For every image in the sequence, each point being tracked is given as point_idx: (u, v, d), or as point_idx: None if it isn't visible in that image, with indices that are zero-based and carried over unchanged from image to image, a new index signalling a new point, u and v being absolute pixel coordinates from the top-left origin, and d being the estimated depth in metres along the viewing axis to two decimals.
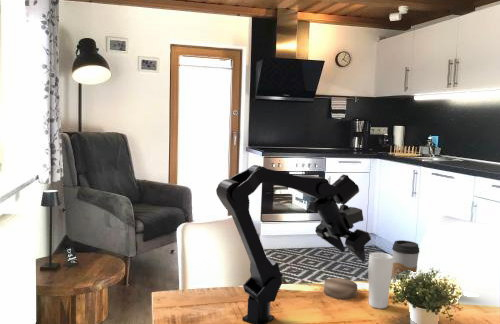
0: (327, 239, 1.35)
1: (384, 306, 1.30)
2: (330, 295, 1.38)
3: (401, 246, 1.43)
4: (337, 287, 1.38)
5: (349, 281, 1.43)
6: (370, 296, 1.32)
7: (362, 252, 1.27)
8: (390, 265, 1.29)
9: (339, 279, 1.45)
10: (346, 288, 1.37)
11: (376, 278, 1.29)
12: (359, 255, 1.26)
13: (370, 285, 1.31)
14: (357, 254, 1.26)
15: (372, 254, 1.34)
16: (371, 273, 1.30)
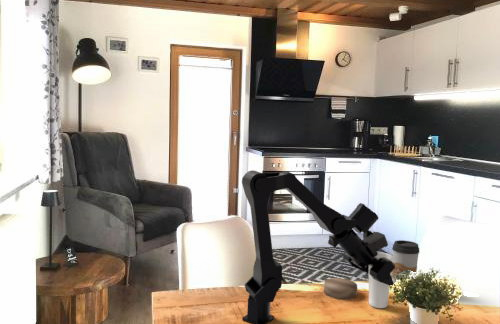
0: (356, 266, 1.34)
1: (384, 306, 1.30)
2: (330, 295, 1.38)
3: (401, 246, 1.43)
4: (337, 287, 1.38)
5: (349, 281, 1.43)
6: (370, 296, 1.32)
7: (388, 278, 1.26)
8: None
9: (339, 279, 1.45)
10: (346, 288, 1.37)
11: None
12: (386, 281, 1.26)
13: (370, 285, 1.31)
14: (383, 281, 1.26)
15: None
16: None
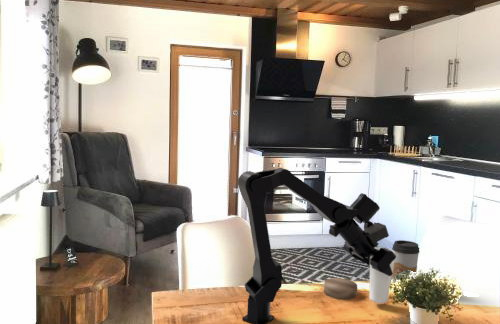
0: (358, 258, 1.33)
1: (385, 301, 1.30)
2: (330, 295, 1.38)
3: (401, 246, 1.43)
4: (337, 287, 1.38)
5: (349, 281, 1.43)
6: (371, 291, 1.31)
7: (387, 268, 1.27)
8: None
9: (339, 279, 1.45)
10: (346, 288, 1.37)
11: (377, 273, 1.29)
12: (385, 271, 1.27)
13: (371, 280, 1.31)
14: None
15: None
16: None
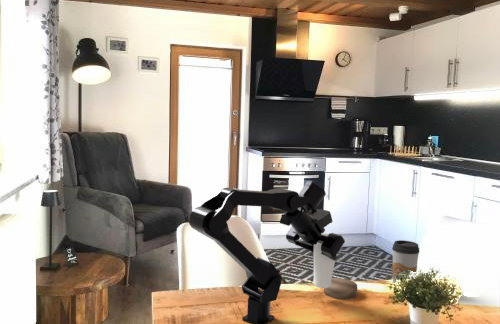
0: (302, 245, 1.34)
1: (330, 285, 1.33)
2: (330, 295, 1.38)
3: (401, 246, 1.43)
4: (337, 287, 1.38)
5: (349, 281, 1.43)
6: (316, 277, 1.33)
7: None
8: None
9: (339, 279, 1.45)
10: (346, 288, 1.37)
11: (323, 258, 1.31)
12: None
13: (317, 266, 1.33)
14: (330, 256, 1.28)
15: None
16: (318, 254, 1.32)
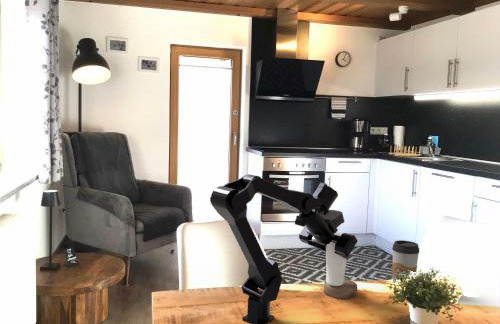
0: (315, 245, 1.38)
1: (342, 283, 1.38)
2: (330, 295, 1.38)
3: (401, 246, 1.43)
4: (337, 287, 1.38)
5: (349, 281, 1.43)
6: (329, 275, 1.37)
7: None
8: None
9: None
10: (346, 288, 1.37)
11: (336, 257, 1.35)
12: None
13: (329, 265, 1.37)
14: (343, 255, 1.33)
15: None
16: (331, 253, 1.36)
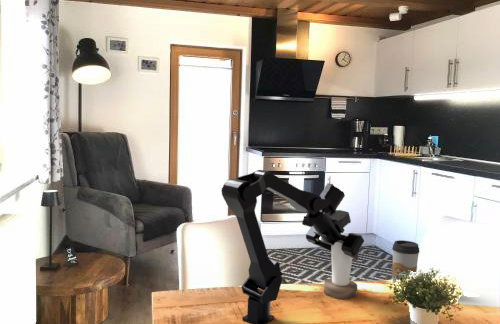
0: (319, 244, 1.41)
1: (348, 283, 1.39)
2: (330, 295, 1.38)
3: (401, 246, 1.43)
4: (337, 287, 1.38)
5: (349, 281, 1.43)
6: (335, 275, 1.39)
7: None
8: None
9: None
10: (346, 288, 1.37)
11: (341, 258, 1.37)
12: (354, 256, 1.35)
13: (335, 265, 1.39)
14: (352, 255, 1.34)
15: None
16: (336, 254, 1.38)
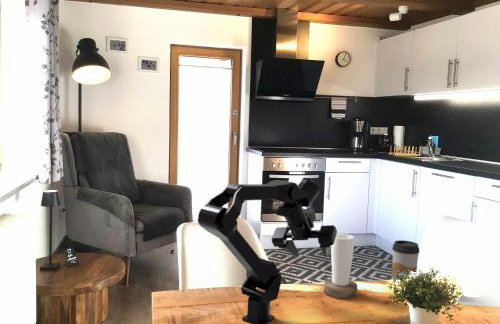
0: (287, 246, 1.33)
1: (348, 283, 1.39)
2: (330, 295, 1.38)
3: (401, 246, 1.43)
4: (337, 287, 1.38)
5: (349, 281, 1.43)
6: (335, 275, 1.39)
7: (327, 247, 1.32)
8: (353, 244, 1.38)
9: None
10: (346, 288, 1.37)
11: (341, 258, 1.37)
12: (326, 250, 1.31)
13: (335, 265, 1.39)
14: (326, 250, 1.30)
15: None
16: (337, 254, 1.38)
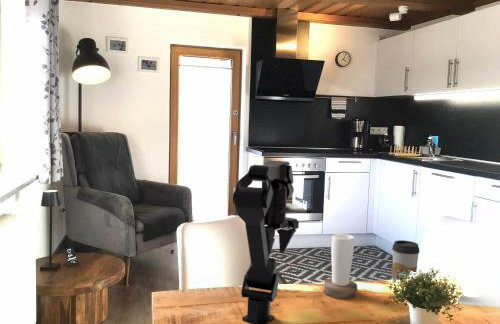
0: None
1: (348, 283, 1.39)
2: (330, 295, 1.38)
3: (401, 246, 1.43)
4: (337, 287, 1.38)
5: (349, 281, 1.43)
6: (335, 275, 1.39)
7: None
8: (353, 244, 1.38)
9: None
10: (346, 288, 1.37)
11: (342, 258, 1.37)
12: None
13: (335, 265, 1.39)
14: None
15: (333, 236, 1.41)
16: (337, 254, 1.38)
